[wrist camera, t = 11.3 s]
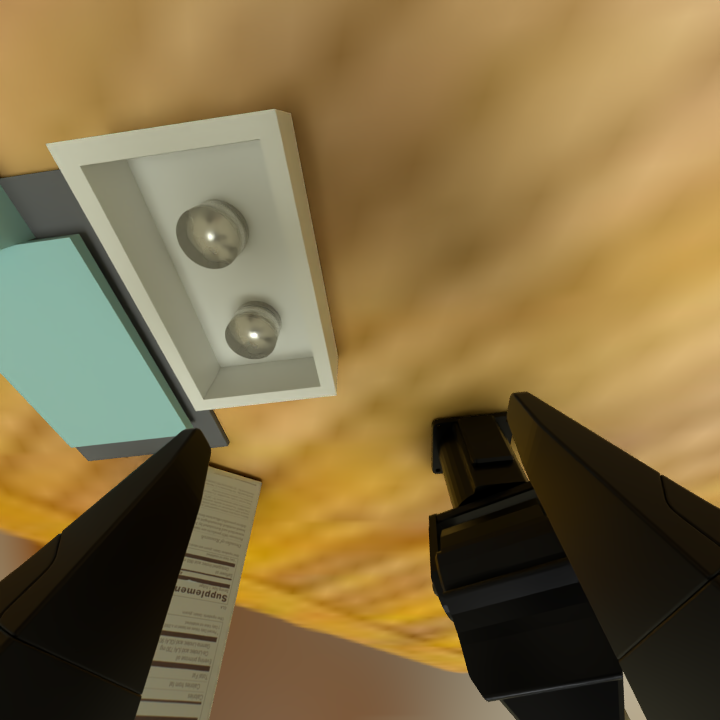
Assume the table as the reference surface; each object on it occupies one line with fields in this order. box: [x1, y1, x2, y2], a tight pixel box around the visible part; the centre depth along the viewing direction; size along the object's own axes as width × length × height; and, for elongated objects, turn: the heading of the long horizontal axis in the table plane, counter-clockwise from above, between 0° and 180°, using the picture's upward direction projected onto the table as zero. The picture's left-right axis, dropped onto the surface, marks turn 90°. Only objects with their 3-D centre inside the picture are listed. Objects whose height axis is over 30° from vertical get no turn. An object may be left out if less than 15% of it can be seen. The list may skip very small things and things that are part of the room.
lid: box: [0, 185, 194, 448], centre depth 19 cm, size 18×9×5 cm, turn 7°
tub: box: [46, 109, 338, 411], centre depth 17 cm, size 14×9×4 cm, turn 7°
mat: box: [0, 170, 229, 461], centre depth 22 cm, size 20×12×1 cm, turn 7°
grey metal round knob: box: [176, 199, 249, 269], centre depth 16 cm, size 3×3×2 cm
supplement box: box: [135, 466, 262, 720], centre depth 24 cm, size 10×9×17 cm
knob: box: [225, 301, 282, 359], centre depth 19 cm, size 3×3×2 cm
